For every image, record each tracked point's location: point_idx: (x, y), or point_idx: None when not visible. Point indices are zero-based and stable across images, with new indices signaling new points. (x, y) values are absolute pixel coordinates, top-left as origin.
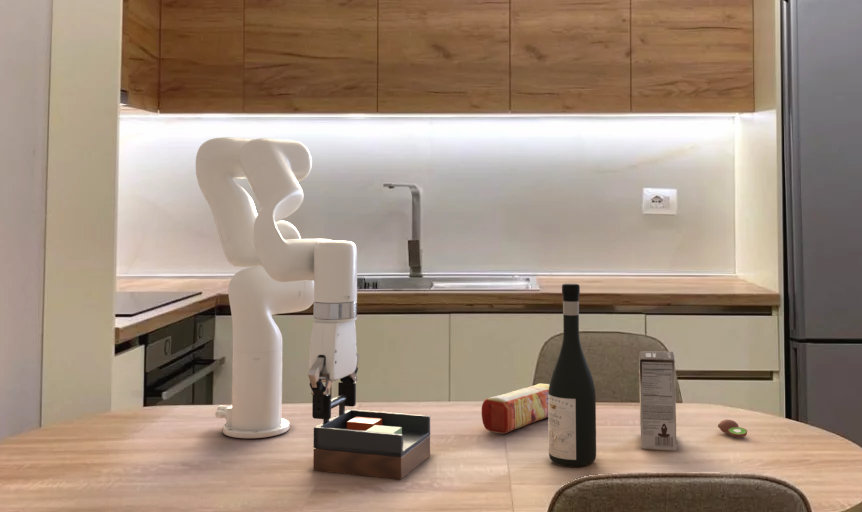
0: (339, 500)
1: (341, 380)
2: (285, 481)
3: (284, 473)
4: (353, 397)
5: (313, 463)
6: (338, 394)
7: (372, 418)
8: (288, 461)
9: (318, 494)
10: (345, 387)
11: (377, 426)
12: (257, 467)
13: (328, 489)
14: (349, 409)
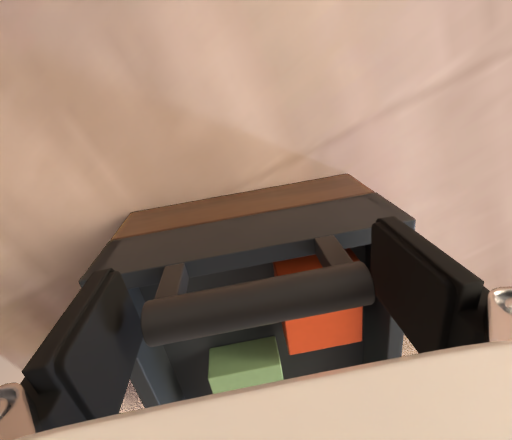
0: (26, 363)
1: (487, 309)
2: (13, 206)
3: (57, 159)
4: (391, 314)
5: (125, 220)
6: (402, 247)
7: (351, 321)
8: (150, 88)
9: (16, 318)
10: (427, 315)
11: (268, 377)
12: (31, 28)
13: (55, 316)
14: (408, 225)
